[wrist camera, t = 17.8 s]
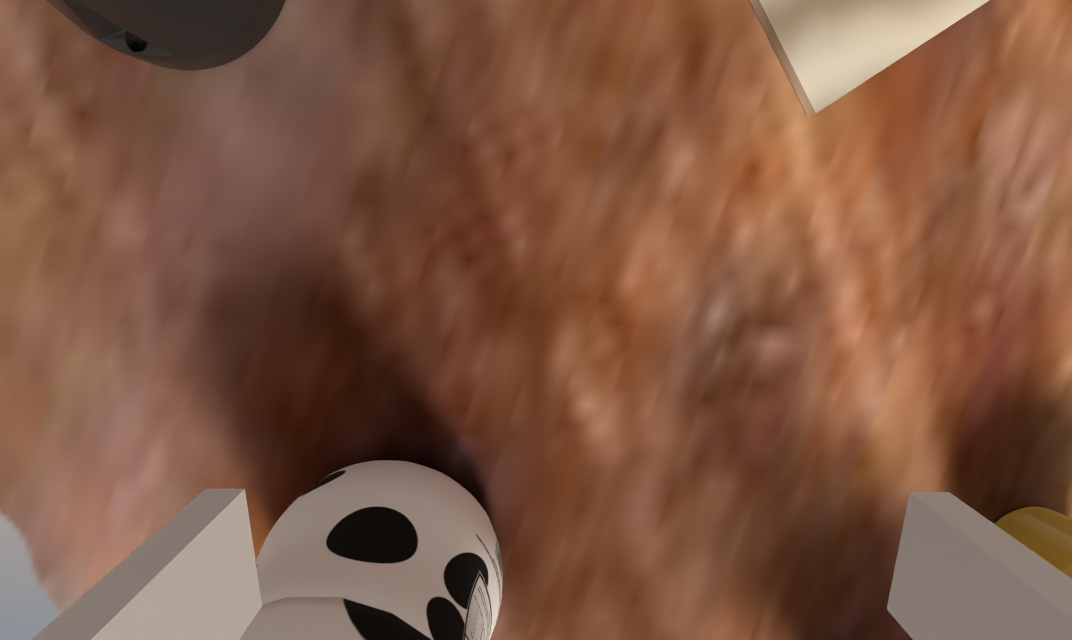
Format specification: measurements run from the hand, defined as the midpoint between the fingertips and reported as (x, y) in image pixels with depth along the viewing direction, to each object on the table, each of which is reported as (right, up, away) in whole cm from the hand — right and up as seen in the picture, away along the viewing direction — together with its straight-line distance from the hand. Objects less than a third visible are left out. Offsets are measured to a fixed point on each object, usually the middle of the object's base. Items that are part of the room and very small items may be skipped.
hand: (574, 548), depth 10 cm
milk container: (-12, -13, +31) cm, 36 cm away
